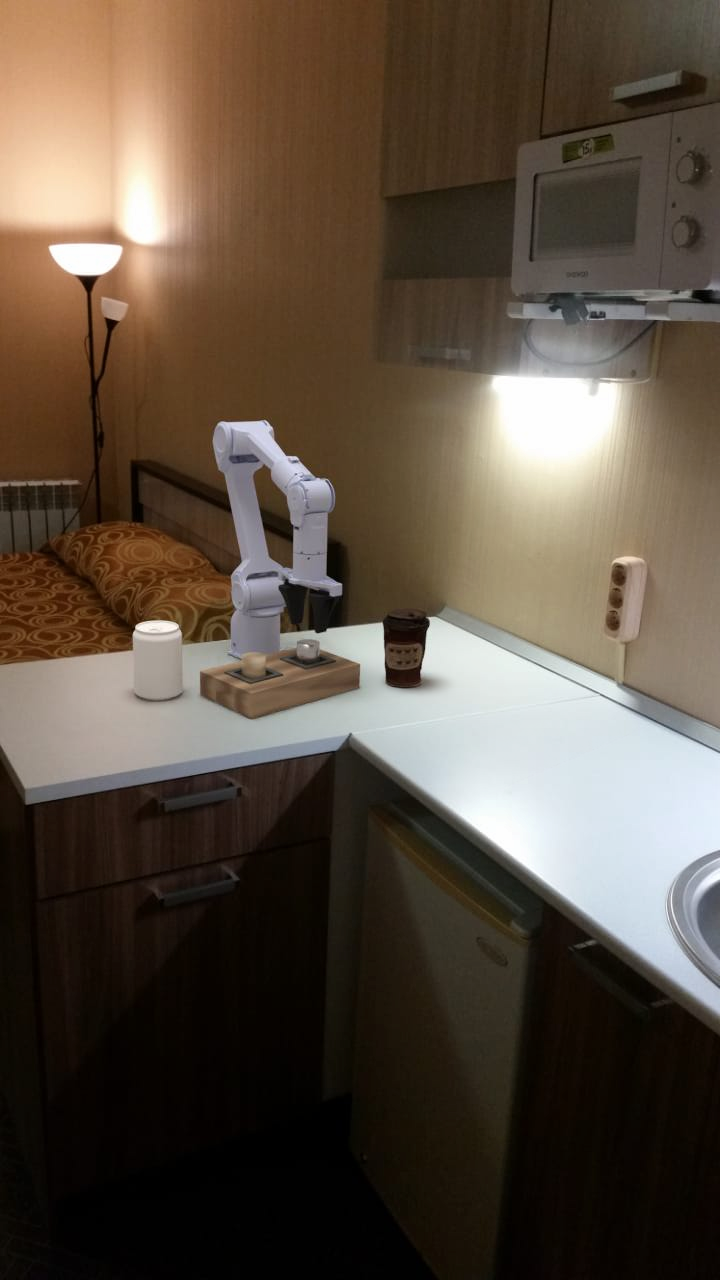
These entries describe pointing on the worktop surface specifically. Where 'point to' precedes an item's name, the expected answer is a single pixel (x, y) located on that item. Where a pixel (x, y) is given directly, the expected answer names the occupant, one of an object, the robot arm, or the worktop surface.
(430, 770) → the worktop surface
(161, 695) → the beverage can
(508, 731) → the worktop surface
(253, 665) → the maple peg
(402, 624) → the coffee cup
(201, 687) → the socket block
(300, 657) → the metal peg
